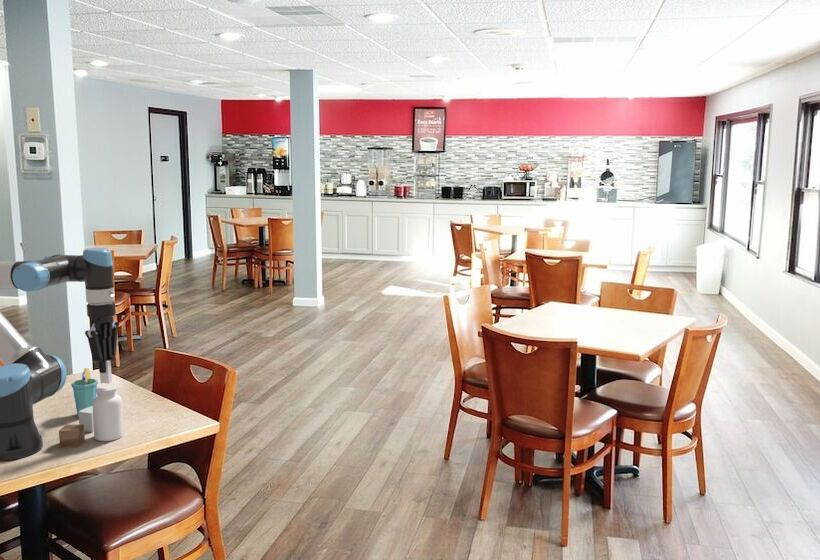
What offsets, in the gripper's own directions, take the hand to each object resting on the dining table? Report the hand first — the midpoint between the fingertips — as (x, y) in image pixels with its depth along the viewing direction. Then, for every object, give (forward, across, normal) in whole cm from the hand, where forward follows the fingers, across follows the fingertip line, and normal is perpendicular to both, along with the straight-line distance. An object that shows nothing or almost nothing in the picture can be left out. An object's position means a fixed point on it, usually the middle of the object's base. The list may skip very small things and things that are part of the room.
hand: (106, 382), depth 212 cm
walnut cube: (+17, -7, +7) cm, 19 cm away
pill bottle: (+17, 0, 0) cm, 17 cm away
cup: (+17, +15, +18) cm, 29 cm away
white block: (+17, +5, +9) cm, 20 cm away
